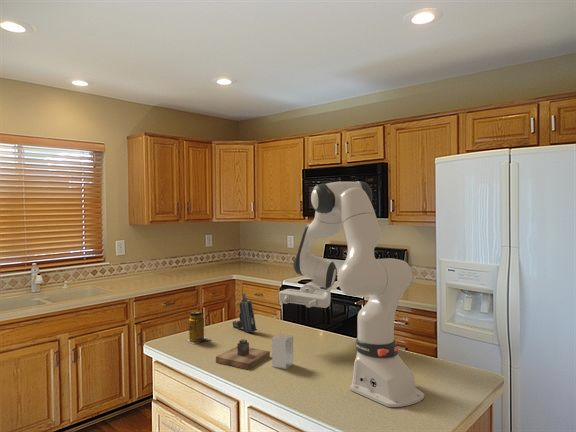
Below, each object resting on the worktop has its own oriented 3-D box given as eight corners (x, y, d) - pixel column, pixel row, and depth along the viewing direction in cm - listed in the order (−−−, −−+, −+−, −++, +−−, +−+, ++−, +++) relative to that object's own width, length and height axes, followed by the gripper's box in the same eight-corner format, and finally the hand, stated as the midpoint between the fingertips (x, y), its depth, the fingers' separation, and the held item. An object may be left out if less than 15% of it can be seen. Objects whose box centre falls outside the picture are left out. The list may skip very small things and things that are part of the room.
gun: (232, 296, 196) (251, 292, 186) (238, 332, 193) (257, 330, 183) (227, 296, 195) (246, 293, 184) (233, 333, 192) (252, 331, 181)
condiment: (185, 340, 174) (185, 311, 174) (204, 336, 179) (204, 308, 179) (192, 344, 168) (192, 315, 168) (211, 340, 174) (211, 311, 173)
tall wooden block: (293, 364, 146) (293, 336, 146) (285, 369, 142) (285, 340, 141) (280, 361, 149) (279, 333, 149) (272, 366, 144) (272, 337, 144)
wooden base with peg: (269, 356, 154) (269, 337, 154) (248, 369, 142) (248, 349, 142) (239, 350, 161) (238, 332, 161) (215, 362, 148) (215, 342, 148)
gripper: (287, 283, 172) (271, 291, 159) (334, 289, 163) (321, 298, 150) (287, 298, 172) (271, 307, 160) (333, 305, 163) (321, 315, 151)
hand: (296, 303), depth 155 cm, fingers open, 8 cm apart
